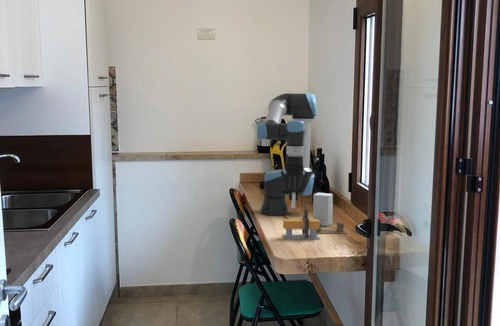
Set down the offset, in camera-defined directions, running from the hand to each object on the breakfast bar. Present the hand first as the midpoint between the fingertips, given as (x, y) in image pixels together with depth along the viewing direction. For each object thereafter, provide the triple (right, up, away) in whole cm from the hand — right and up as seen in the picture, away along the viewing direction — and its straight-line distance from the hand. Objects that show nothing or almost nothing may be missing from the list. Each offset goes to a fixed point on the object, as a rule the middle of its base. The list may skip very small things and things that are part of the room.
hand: (293, 207), depth 232 cm
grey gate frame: (+6, -14, +3) cm, 15 cm away
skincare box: (+17, -11, +27) cm, 33 cm away
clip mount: (+4, -14, +3) cm, 15 cm away
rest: (+18, -13, +13) cm, 25 cm away
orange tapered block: (+4, -9, +2) cm, 10 cm away
